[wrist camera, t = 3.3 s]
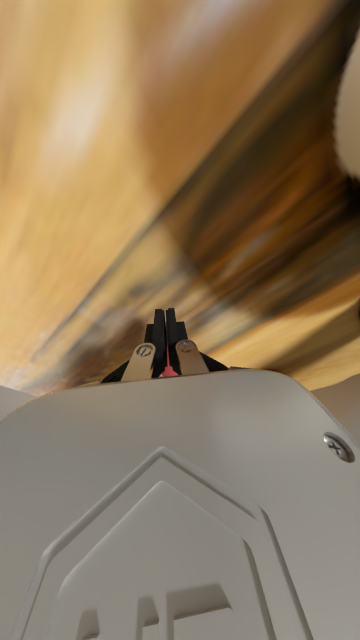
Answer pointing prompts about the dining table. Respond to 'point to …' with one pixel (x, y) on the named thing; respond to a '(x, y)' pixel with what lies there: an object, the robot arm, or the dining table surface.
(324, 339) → the dining table surface
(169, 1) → the dining table surface
